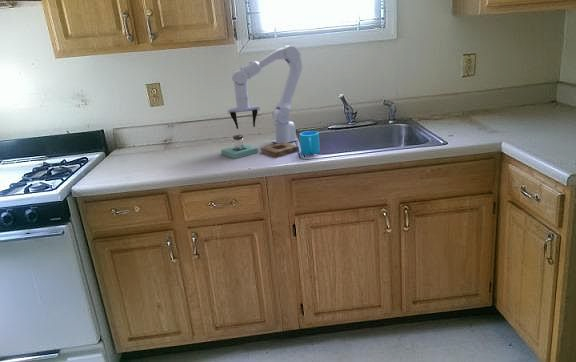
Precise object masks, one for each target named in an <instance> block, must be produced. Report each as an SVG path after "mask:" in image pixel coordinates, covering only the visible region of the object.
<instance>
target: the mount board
mask: <svg viewBox="0 0 576 362" xmlns="http://www.w3.org/2000/svg"><path fill="white" fill-rule="evenodd" d="M299 148H300V147H299V146H298V145H295V144H292V143H289V142H288V143H284V142H281V143H275V144H271V145H270V144H269V145H267V146H262V147H261V148H260V153H263V154H266V155H269V156H271V157H275V158H278V157H281V156H285V155H289V154H292V153H297V152H299V151H300V149H299Z"/></svg>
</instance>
